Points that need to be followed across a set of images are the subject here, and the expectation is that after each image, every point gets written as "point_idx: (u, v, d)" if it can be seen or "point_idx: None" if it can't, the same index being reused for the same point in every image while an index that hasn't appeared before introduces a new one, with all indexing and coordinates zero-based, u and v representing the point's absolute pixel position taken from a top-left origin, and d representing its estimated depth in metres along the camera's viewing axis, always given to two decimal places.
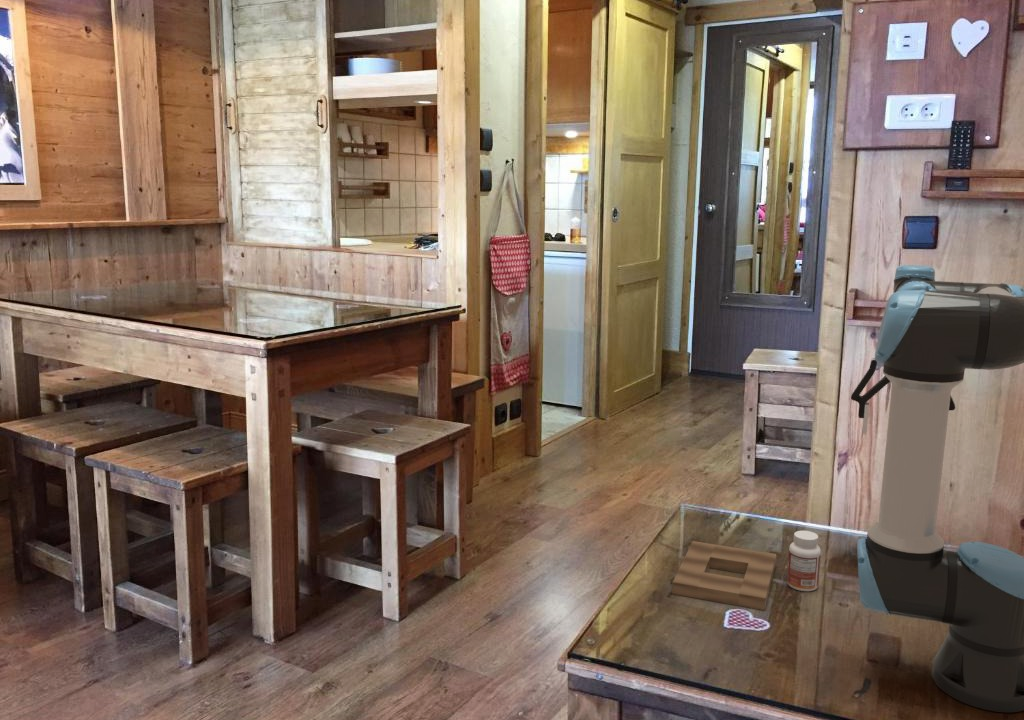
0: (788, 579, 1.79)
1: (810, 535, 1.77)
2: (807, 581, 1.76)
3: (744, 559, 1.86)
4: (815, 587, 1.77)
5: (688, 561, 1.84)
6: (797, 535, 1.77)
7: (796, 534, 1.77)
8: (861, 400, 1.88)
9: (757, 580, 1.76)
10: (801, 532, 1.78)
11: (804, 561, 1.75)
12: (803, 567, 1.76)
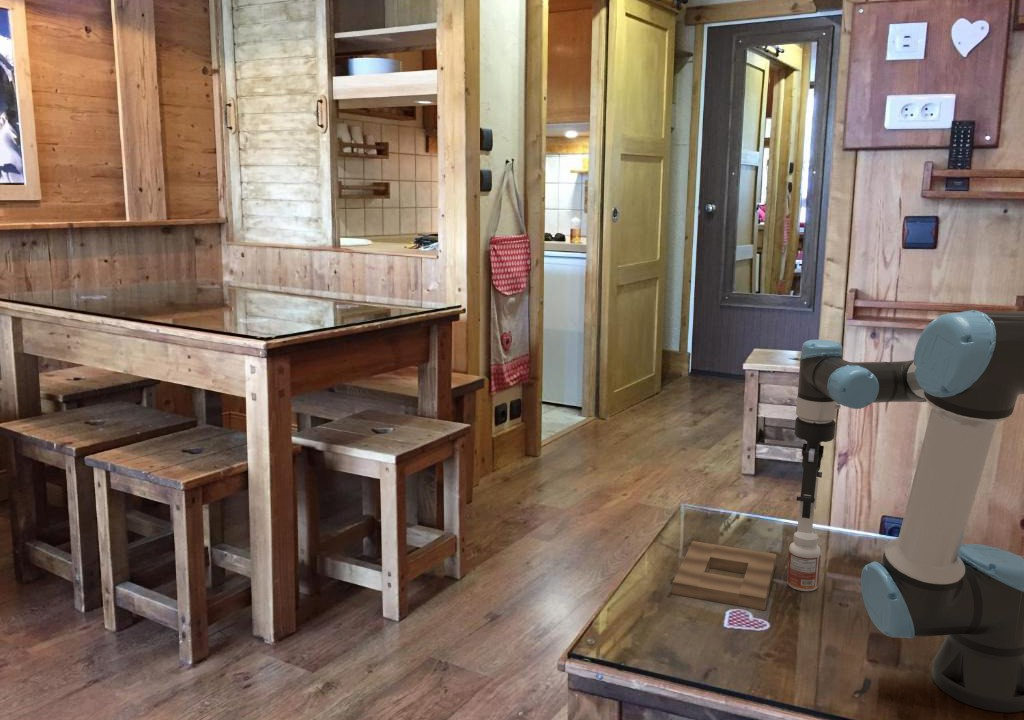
0: (788, 579, 1.79)
1: (810, 535, 1.77)
2: (807, 581, 1.76)
3: (744, 559, 1.86)
4: (815, 587, 1.77)
5: (688, 561, 1.84)
6: (797, 535, 1.77)
7: (796, 534, 1.77)
8: None
9: (757, 580, 1.76)
10: (801, 532, 1.78)
11: (804, 561, 1.75)
12: (803, 567, 1.76)
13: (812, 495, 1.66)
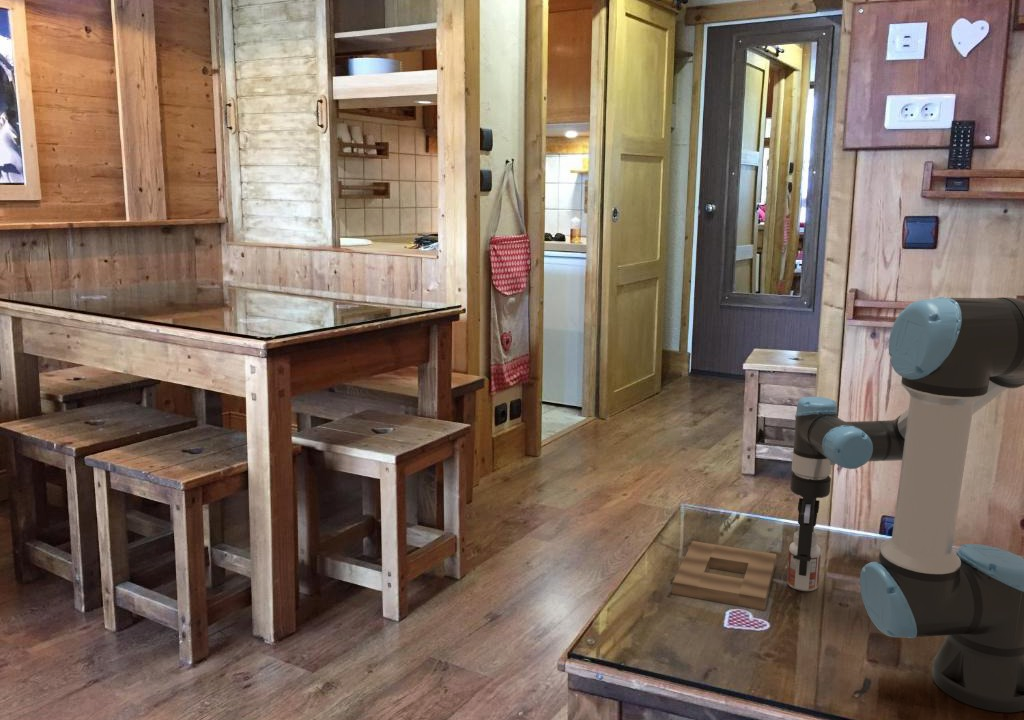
0: (788, 579, 1.79)
1: None
2: None
3: (744, 559, 1.86)
4: (815, 587, 1.77)
5: (688, 561, 1.84)
6: (797, 535, 1.77)
7: (796, 534, 1.77)
8: None
9: (757, 580, 1.76)
10: None
11: None
12: None
13: (808, 555, 1.71)
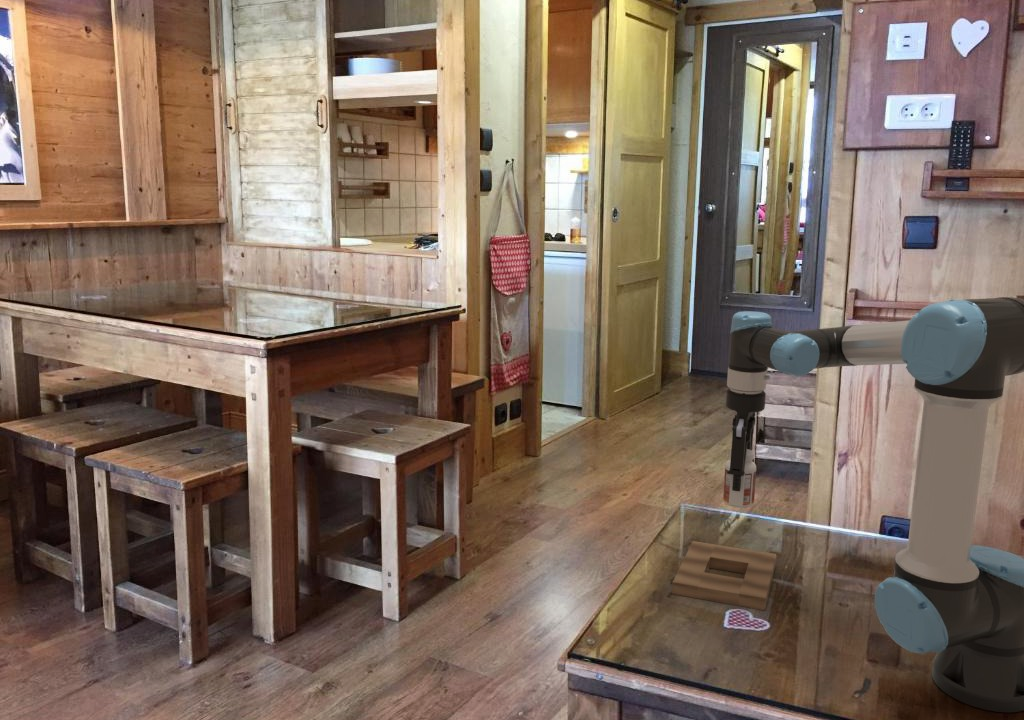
0: (724, 496, 1.78)
1: (746, 452, 1.76)
2: None
3: (744, 559, 1.86)
4: (750, 504, 1.76)
5: (688, 561, 1.84)
6: None
7: None
8: None
9: (757, 580, 1.76)
10: None
11: None
12: None
13: (740, 469, 1.71)
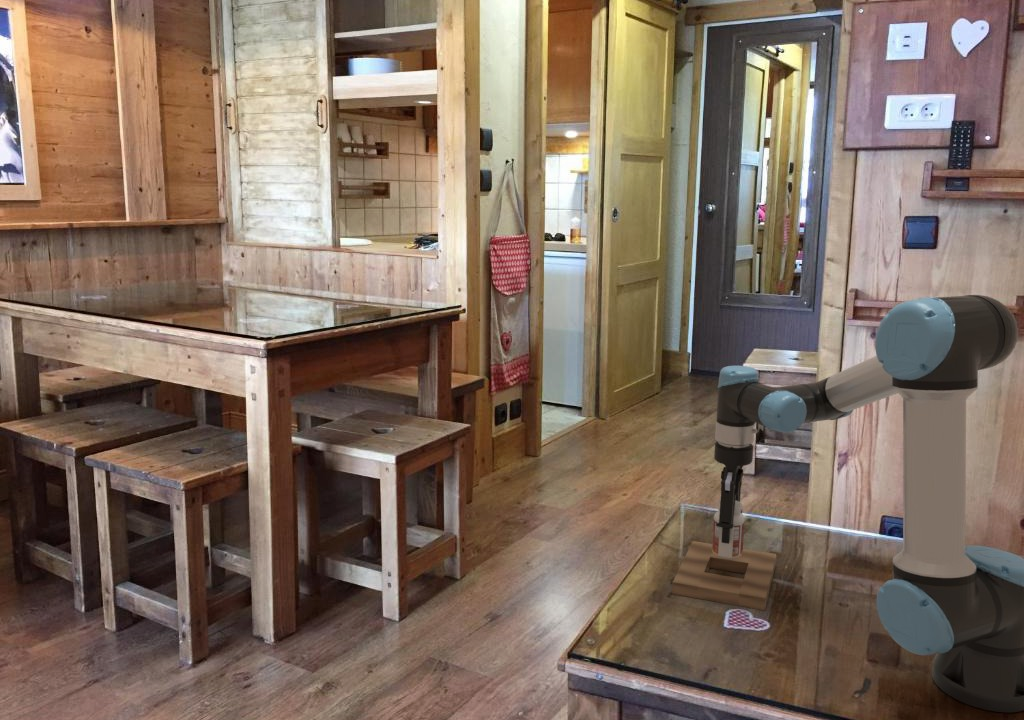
0: (713, 547, 1.80)
1: None
2: None
3: (744, 559, 1.86)
4: (739, 555, 1.79)
5: (688, 561, 1.84)
6: None
7: None
8: None
9: (757, 580, 1.76)
10: None
11: None
12: None
13: (729, 522, 1.73)
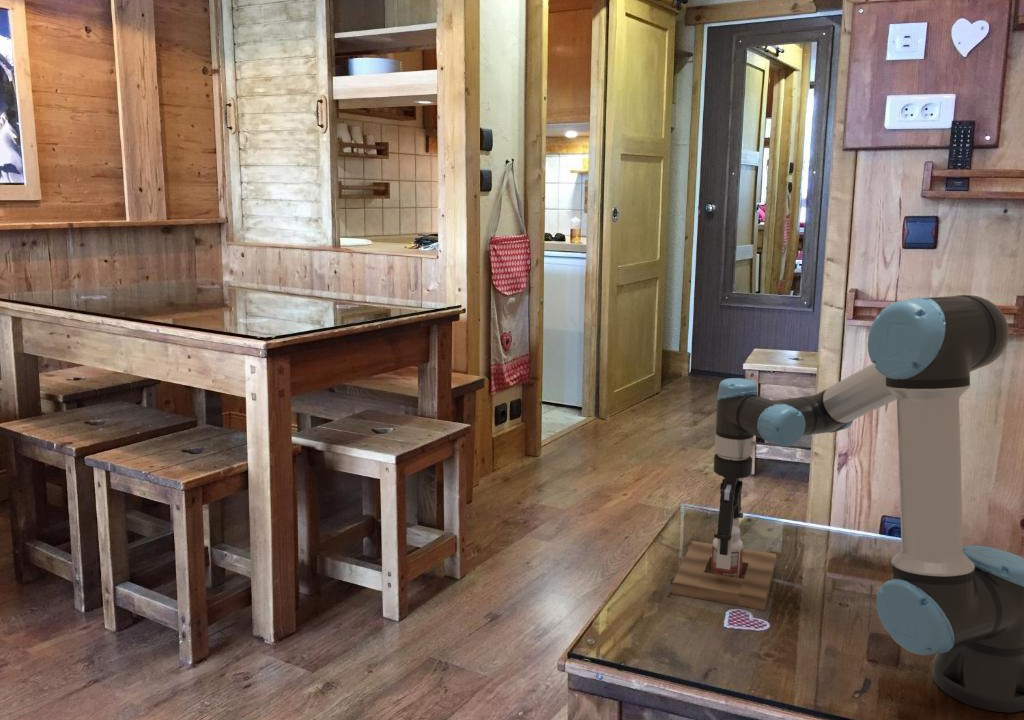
0: None
1: (732, 530, 1.79)
2: (729, 575, 1.79)
3: (744, 559, 1.86)
4: None
5: (688, 561, 1.84)
6: None
7: None
8: None
9: (757, 580, 1.76)
10: None
11: None
12: None
13: (728, 533, 1.71)
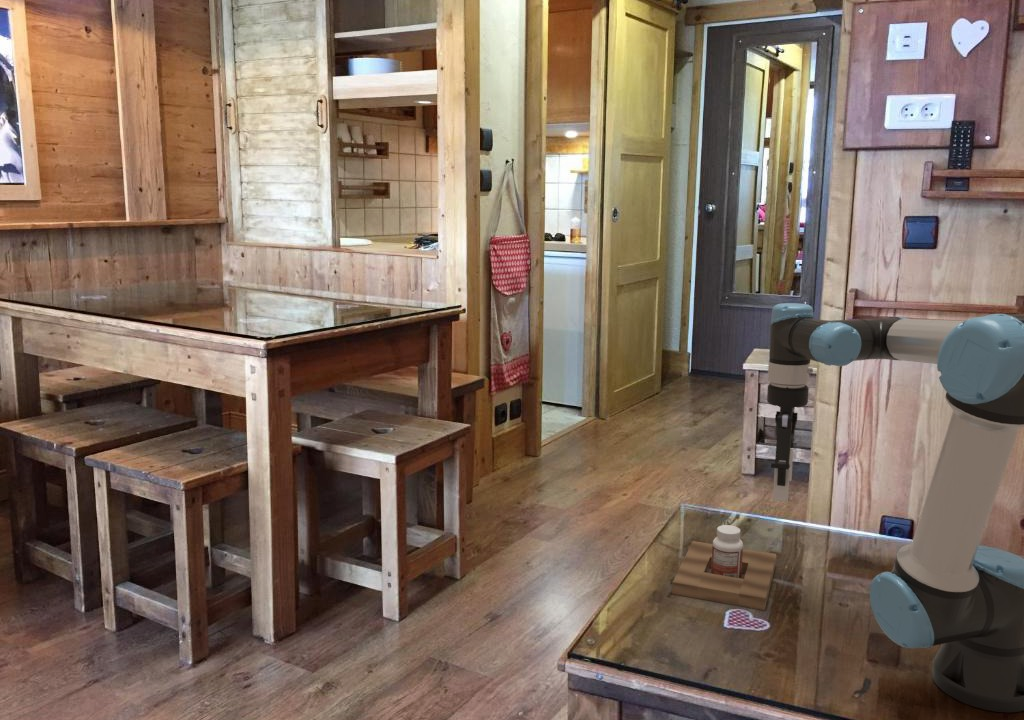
0: None
1: (732, 530, 1.79)
2: (729, 575, 1.79)
3: (744, 559, 1.86)
4: None
5: (688, 561, 1.84)
6: (720, 529, 1.79)
7: (719, 528, 1.80)
8: None
9: (757, 580, 1.76)
10: (724, 526, 1.81)
11: (725, 555, 1.78)
12: (725, 561, 1.78)
13: (787, 460, 1.61)
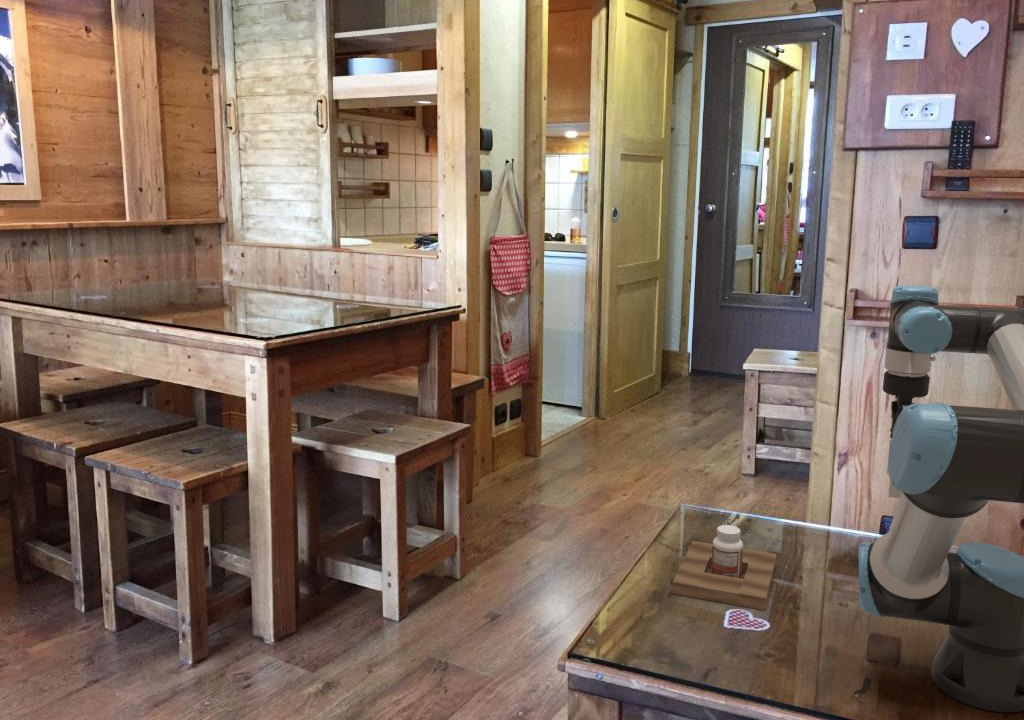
0: None
1: (732, 530, 1.79)
2: (729, 575, 1.79)
3: (744, 559, 1.86)
4: None
5: (688, 561, 1.84)
6: (720, 529, 1.79)
7: (719, 528, 1.80)
8: None
9: (757, 580, 1.76)
10: (724, 526, 1.81)
11: (725, 555, 1.78)
12: (725, 561, 1.78)
13: None
